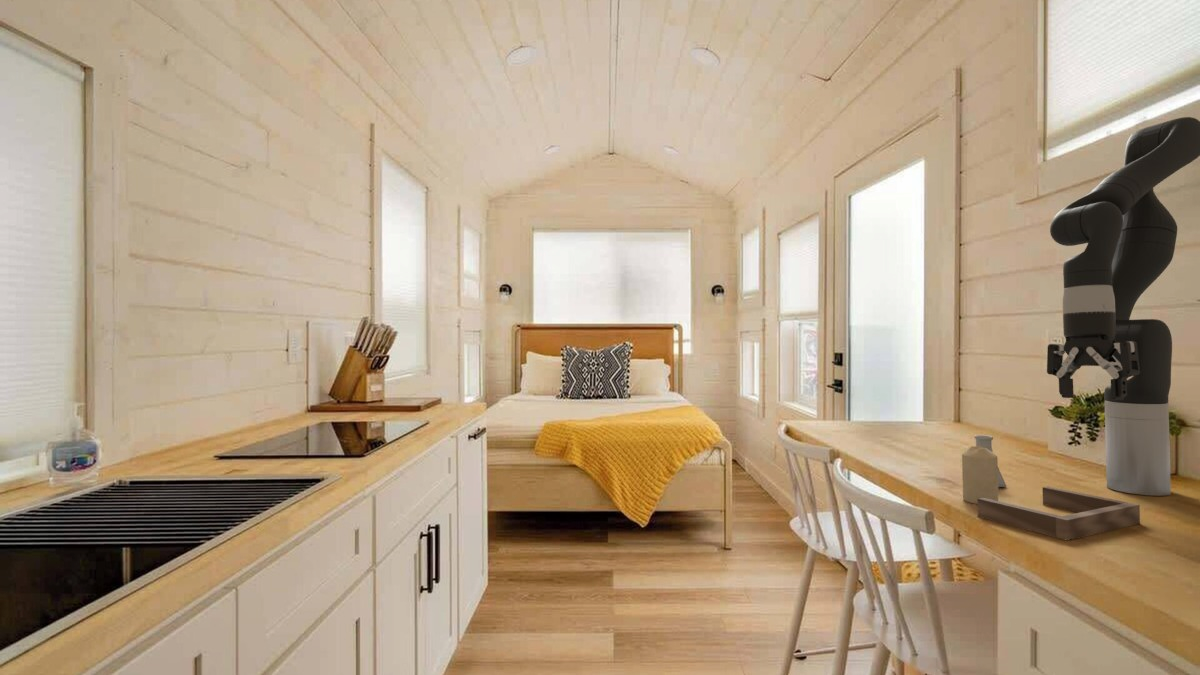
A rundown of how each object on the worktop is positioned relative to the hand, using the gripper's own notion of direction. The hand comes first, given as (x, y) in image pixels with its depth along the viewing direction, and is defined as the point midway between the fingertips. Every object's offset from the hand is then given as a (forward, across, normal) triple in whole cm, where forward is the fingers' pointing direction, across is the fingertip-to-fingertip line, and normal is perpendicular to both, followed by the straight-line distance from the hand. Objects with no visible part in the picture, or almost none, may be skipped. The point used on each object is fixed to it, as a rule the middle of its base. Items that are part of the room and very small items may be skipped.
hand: (1091, 398), depth 108 cm
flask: (+19, +16, +7) cm, 26 cm away
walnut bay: (+19, -5, +18) cm, 27 cm away
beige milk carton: (+19, +7, +19) cm, 28 cm away
